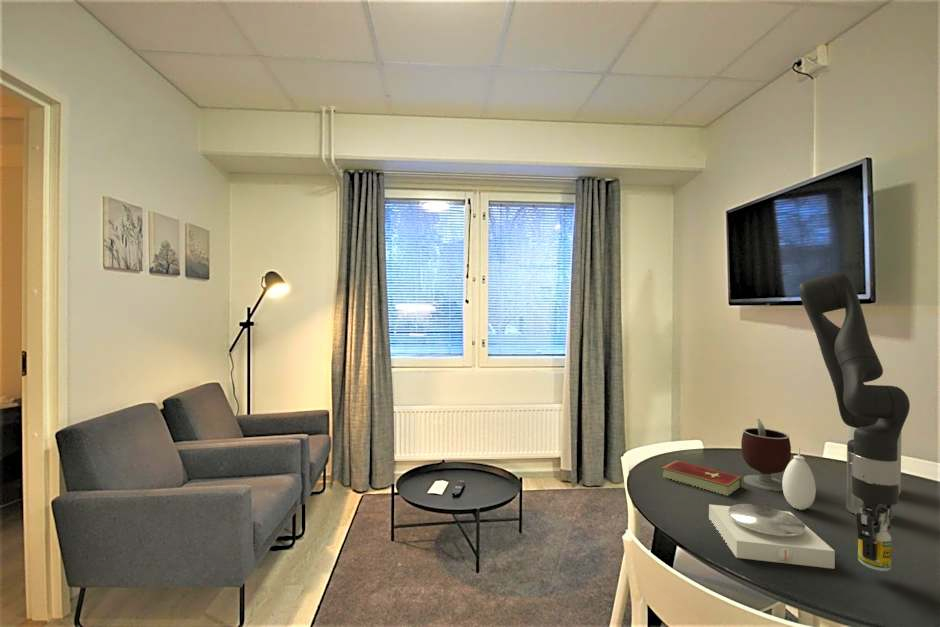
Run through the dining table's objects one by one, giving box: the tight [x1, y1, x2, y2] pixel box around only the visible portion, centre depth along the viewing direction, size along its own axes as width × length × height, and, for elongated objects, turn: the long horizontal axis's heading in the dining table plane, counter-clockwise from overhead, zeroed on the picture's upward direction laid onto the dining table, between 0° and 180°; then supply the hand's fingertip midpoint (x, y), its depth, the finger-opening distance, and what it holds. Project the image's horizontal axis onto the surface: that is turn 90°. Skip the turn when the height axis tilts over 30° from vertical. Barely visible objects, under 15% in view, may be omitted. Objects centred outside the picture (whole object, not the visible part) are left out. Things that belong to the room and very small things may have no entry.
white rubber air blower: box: [781, 447, 817, 511], centre depth 130 cm, size 8×8×18 cm
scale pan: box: [729, 503, 806, 537], centre depth 111 cm, size 16×16×1 cm
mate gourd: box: [740, 418, 792, 492], centre depth 150 cm, size 16×14×20 cm
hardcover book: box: [661, 460, 742, 497], centre depth 150 cm, size 12×21×4 cm, turn 42°
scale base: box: [708, 503, 836, 570], centre depth 111 cm, size 20×20×4 cm
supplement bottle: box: [857, 521, 892, 572], centre depth 96 cm, size 5×5×10 cm
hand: (874, 554), depth 96 cm, fingers closed on supplement bottle, 5 cm apart
